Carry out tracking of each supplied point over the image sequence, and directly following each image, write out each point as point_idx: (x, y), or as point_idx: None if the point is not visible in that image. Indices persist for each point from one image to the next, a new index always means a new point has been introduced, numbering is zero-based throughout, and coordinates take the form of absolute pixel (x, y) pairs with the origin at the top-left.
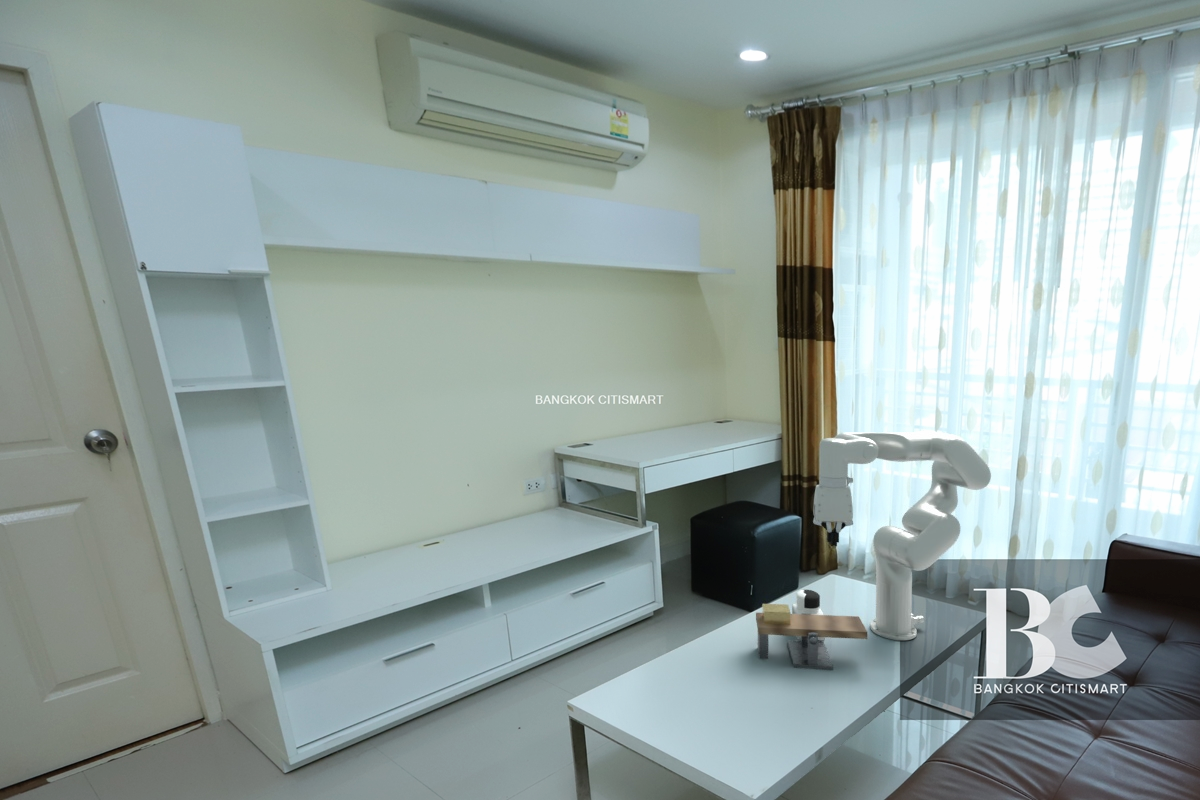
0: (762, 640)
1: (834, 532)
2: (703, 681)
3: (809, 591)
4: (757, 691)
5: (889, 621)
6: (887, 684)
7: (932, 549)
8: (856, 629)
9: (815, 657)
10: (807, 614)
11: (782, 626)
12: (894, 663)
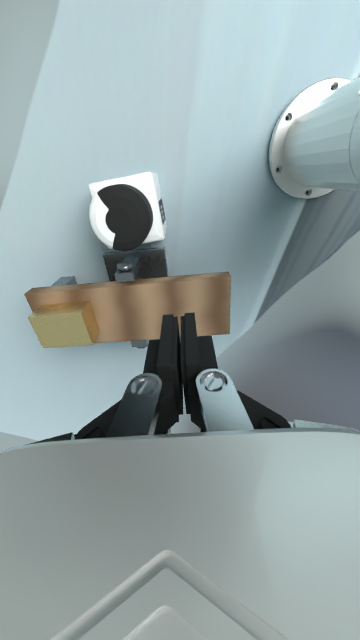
0: None
1: (189, 407)
2: (24, 365)
3: (121, 213)
4: (87, 370)
5: (309, 184)
6: (235, 332)
7: None
8: (212, 328)
9: None
10: (126, 276)
11: None
12: (264, 280)
